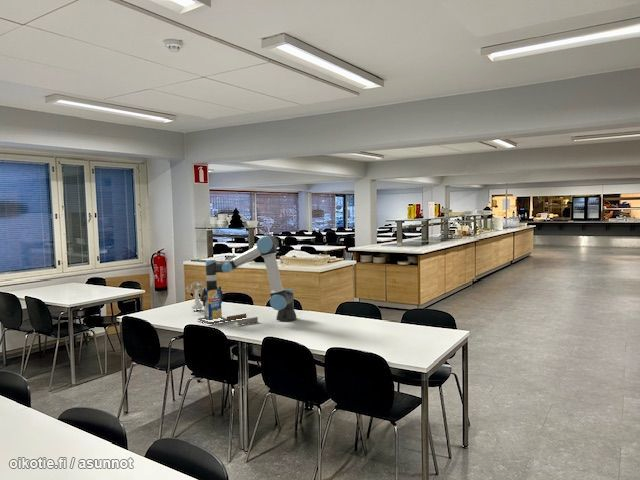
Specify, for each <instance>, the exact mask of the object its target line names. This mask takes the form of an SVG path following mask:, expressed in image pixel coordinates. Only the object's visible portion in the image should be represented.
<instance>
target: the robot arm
mask: <svg viewBox="0 0 640 480" xmlns="http://www.w3.org/2000/svg"><path fill="white" fill-rule="evenodd" d="M278 248H279V239H278V238H277V237H275V236H273V235H265V236H261V237H260V238H259V239H258V240H257V241H256V246H254V247H252V248H250V249H248V250H247V251H245V252H243V253H240V254H239V255H237V256H236V257H233V258H232V259H230V260H227V261H224V262H223V261H222V262H217V261H216V259H207V260H206V261H205V278H206V281H205V282H206V286H205V287H203V290H202V293H201V295H200V298H199V301H200V302H201V303H202V305H203V311H204V310H205V311H207V306H206V302H205V301H206V297H204V295H205V292H206V290H216V289H221V305H222V303H223V299H225V296H224V293H223V291H222V286H220V285H218V286H217V283H218V282H217V274H218V273H231V272H232V271H235V270H236V269H237V268H239V267H241V266H243V265H245V264H246V263H249V262H250V261H253V260H255V259H256V258H258V257H260V256H261V257H262V258H263V260H264V264H265V269H266V270H265V271H266V274H267V278H268V283H269V287H270V292H269V296H270V299H269V304H270V307H271V308H272V309H273V310H275V311H277V314H276V316H275V317H276V321H277V320H280V321H279V322H293V321H296V320H297V314H296V311H295V308H294V307H295V305H294V298H295V297H294V289H291V288H289V289H288V288H284V286H283V283H282V278H281V274H280V273H281V272H280V270H279V266H278V262H277V258H276V255H277V253H278V252H277V249H278ZM292 320H293V321H292Z"/></svg>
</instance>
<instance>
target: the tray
mask: <svg viewBox="0 0 640 480" xmlns="http://www.w3.org/2000/svg"><path fill="white" fill-rule="evenodd" d="M202 319H204V317H200V318H197V321H198V320H200V321H202V322H204V323H207V324H214V323H219V322H225V321H228V320H227V317H224V316H222V318H221V319H223V320H220V321H214V322H208V321H205V320H202ZM204 323H203V324H204Z"/></svg>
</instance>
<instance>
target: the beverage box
mask: <svg viewBox="0 0 640 480" xmlns="http://www.w3.org/2000/svg"><path fill="white" fill-rule="evenodd" d="M221 291H222V288H221V289H218V288H217V289H216V290H206V292H205V295H204V297H206V301H205V302H206V306H207V311H205V310H204V309H203V312H204V313H203V316H204V317H203V318H204V319H206V320H213V319H218V318H222V317H223V316H222V315H223V313H222V304H221Z"/></svg>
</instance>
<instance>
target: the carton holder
mask: <svg viewBox="0 0 640 480" xmlns="http://www.w3.org/2000/svg"><path fill="white" fill-rule="evenodd" d="M242 318H247V313H242V314H241V313H240V314H234V315H228V316H226V319H227V320H228V321H231V320H236V319H242ZM231 322H232V321H231ZM236 322H237V326H238V325H242V324H247V325H249V324H248V323H252V324H255V323H254V322H258V323H259V317H258V316H254V317H248V318H247V319H242V320H237V321H236ZM242 326H243V325H242Z"/></svg>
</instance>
